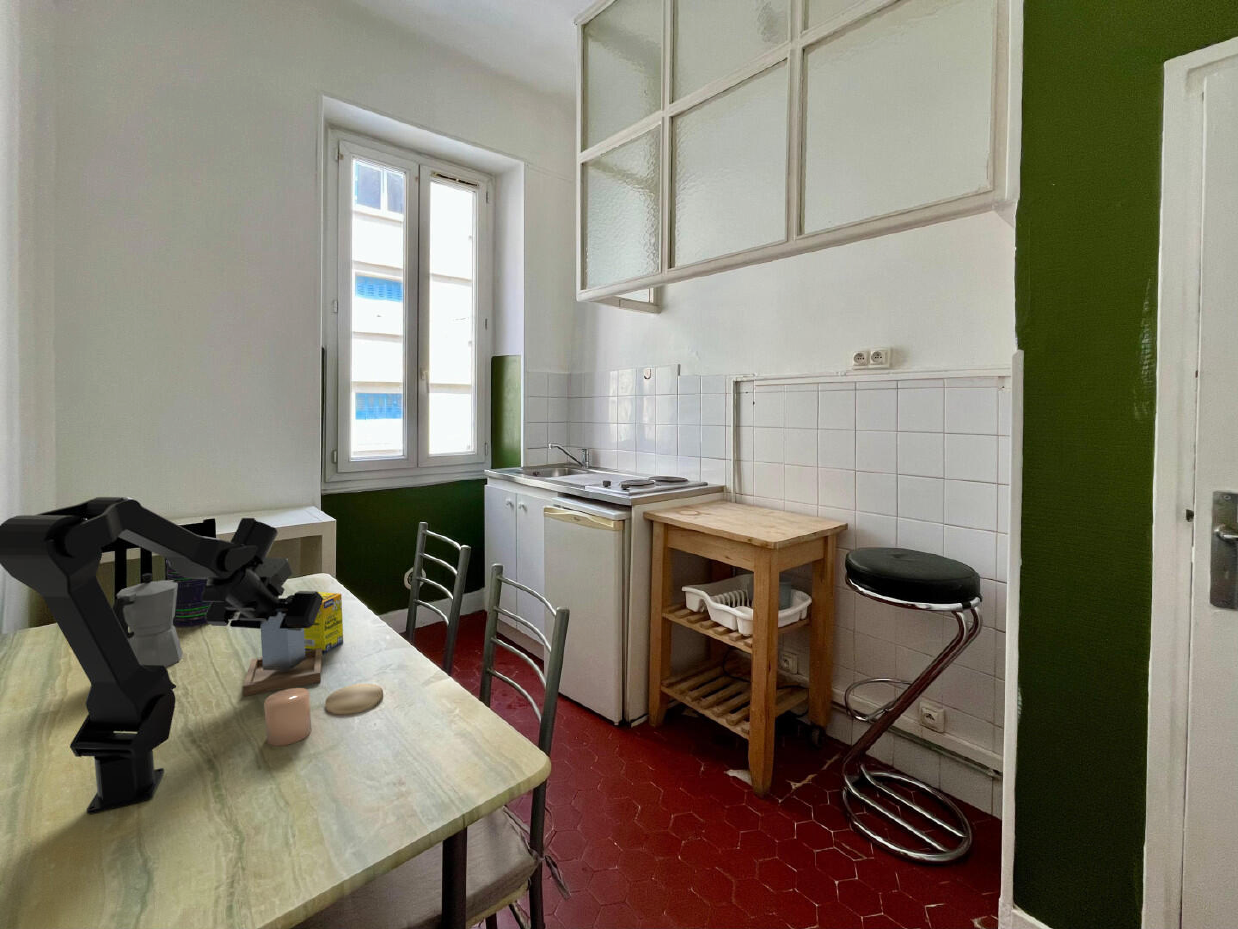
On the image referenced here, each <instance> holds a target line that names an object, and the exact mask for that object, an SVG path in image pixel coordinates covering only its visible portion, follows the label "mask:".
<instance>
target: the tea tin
mask: <svg viewBox="0 0 1238 929" xmlns="http://www.w3.org/2000/svg"><path fill="white" fill-rule="evenodd" d="M290 595H291V594H282V596H279V597H278V598H287V597H288V596H290ZM282 620H283V615H282V614H281V612H278V615H277V617H269V620H268V621H260V627H261V629H260V642H261V657H262V661H263V670H279V671H290V670H291V669H293V668H294V667H295V666H297V665H298V664H299V663H301V662H302V661H303V660H305V659H306V657H305V638H304V628H302V629H301V630H300V631H298V630H290V629H281V628H279V627H280V625H281V622H282Z"/></svg>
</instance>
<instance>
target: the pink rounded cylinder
mask: <svg viewBox="0 0 1238 929" xmlns="http://www.w3.org/2000/svg"><path fill="white" fill-rule="evenodd" d="M310 698H311V697H310V690H308V689H306V688H303V687H291V688H285V689H281V690H278V691H276V692H275V693H272V694H271V695H269V696H268V697H267V698H266V699H264V702H263V703H264V704H263V707H264V718H265V719H264V720H265V732H266V742H267V743H268V745H271V746H275V747H281V746H288V745H292V744H295V743H297V742H300V741H302V740H303V739H305V738H307V737H308V736H309V735H310V734H311V732H312V718H311V715H312V714H311V701H310Z"/></svg>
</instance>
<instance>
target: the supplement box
mask: <svg viewBox="0 0 1238 929" xmlns="http://www.w3.org/2000/svg"><path fill="white" fill-rule="evenodd" d="M317 592H318V593H319V594H320V595H321V596H322V597H323V601H322V604H321V606H320V609H319V611H318V614H317V616H316V619H315V622H314V624H313V626H311V627H310V628H304V638H305V650H311V649H317V648H322V655H323V654H324V655H325V654H327V653H328V652H329V651H331V650H332V649H335V648H336V647H337V646H339V645H342V644H344V629H343V627H344V626H343V625H344V624H343V622H344V621H343V603H342V599H343V598H342V593H339V592H338V593H337V592H325V591H317Z"/></svg>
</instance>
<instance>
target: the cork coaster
mask: <svg viewBox="0 0 1238 929" xmlns="http://www.w3.org/2000/svg"><path fill="white" fill-rule="evenodd" d="M383 698H384V690H383V687H381V686H380V685H378V684H376V683H375V684H374V683H359V684H358V683H356V684H352V685H351V684H350V685H348V686H344V687H341V688H339V689H337V690H335V691H334V692H332V693H330V694H329V695H328V696H326V700H325V709H326V710H327V712H329V713H331V714H334V715H340V716H341V715H353V714H354V715H355V714H358V713H361V712H366V711H367V710H370V709H372V708H374V707H376V706H377V705H378V704H379V703H380V702H382V700H383ZM375 705H376V706H375Z"/></svg>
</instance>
